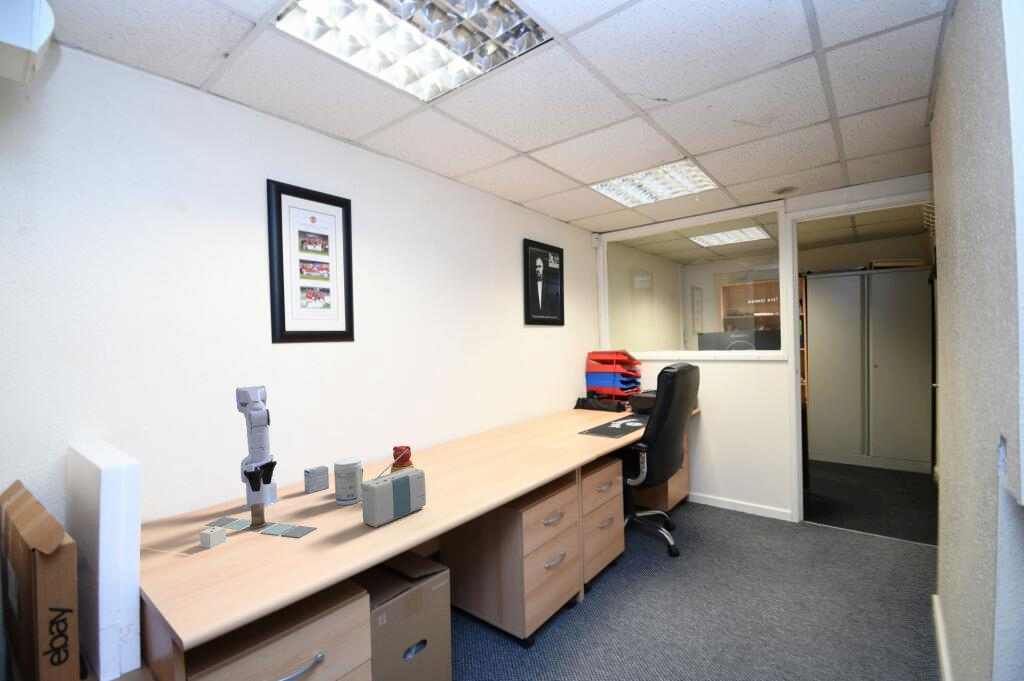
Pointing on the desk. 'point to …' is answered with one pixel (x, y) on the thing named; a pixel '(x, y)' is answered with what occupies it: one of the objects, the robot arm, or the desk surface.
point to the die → (212, 537)
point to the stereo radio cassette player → (393, 495)
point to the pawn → (257, 516)
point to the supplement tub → (348, 480)
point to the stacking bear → (401, 458)
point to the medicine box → (316, 479)
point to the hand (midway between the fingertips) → (261, 487)
